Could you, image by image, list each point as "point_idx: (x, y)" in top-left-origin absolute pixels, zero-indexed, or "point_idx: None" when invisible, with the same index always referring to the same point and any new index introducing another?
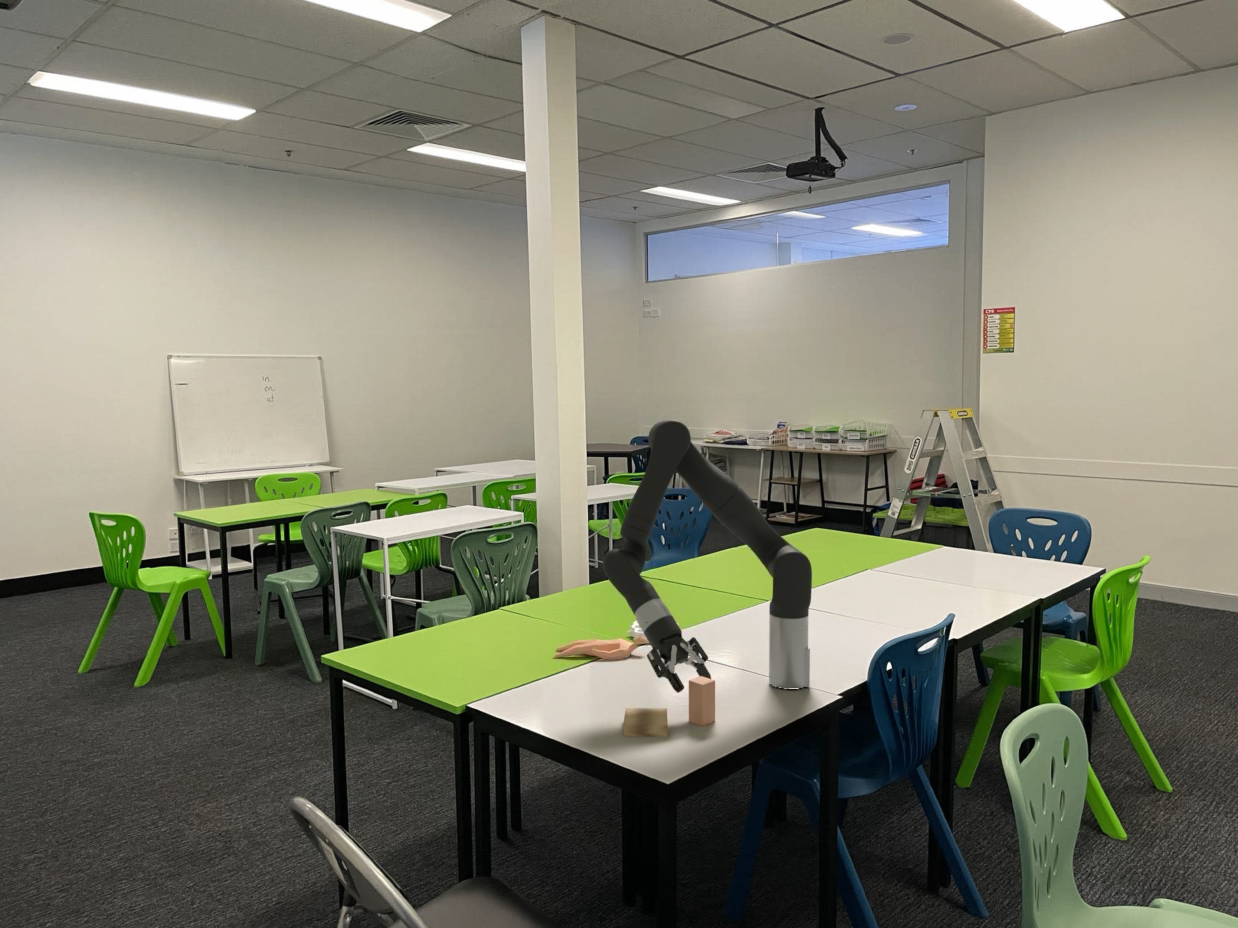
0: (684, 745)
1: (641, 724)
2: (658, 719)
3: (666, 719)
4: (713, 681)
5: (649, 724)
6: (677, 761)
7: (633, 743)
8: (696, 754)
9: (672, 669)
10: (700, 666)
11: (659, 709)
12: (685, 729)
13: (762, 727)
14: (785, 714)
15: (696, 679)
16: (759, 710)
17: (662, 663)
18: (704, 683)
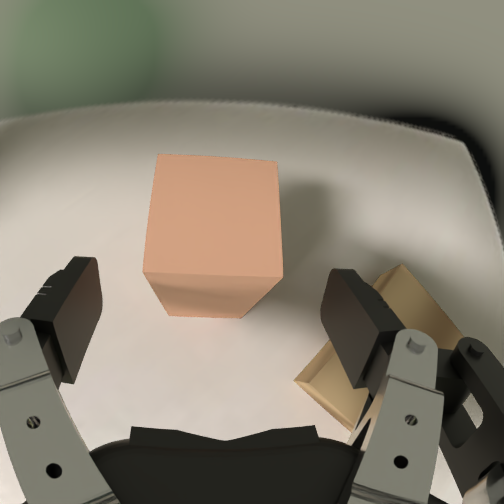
0: (377, 202)
1: (451, 321)
2: (401, 315)
3: (382, 296)
4: (172, 157)
5: (437, 304)
6: (426, 169)
7: (458, 304)
8: (380, 155)
9: (419, 341)
10: (58, 329)
11: (339, 393)
12: (304, 273)
13: (123, 126)
14: (15, 144)
15: (229, 247)
16: (15, 205)
17: (497, 389)
18: (251, 165)
